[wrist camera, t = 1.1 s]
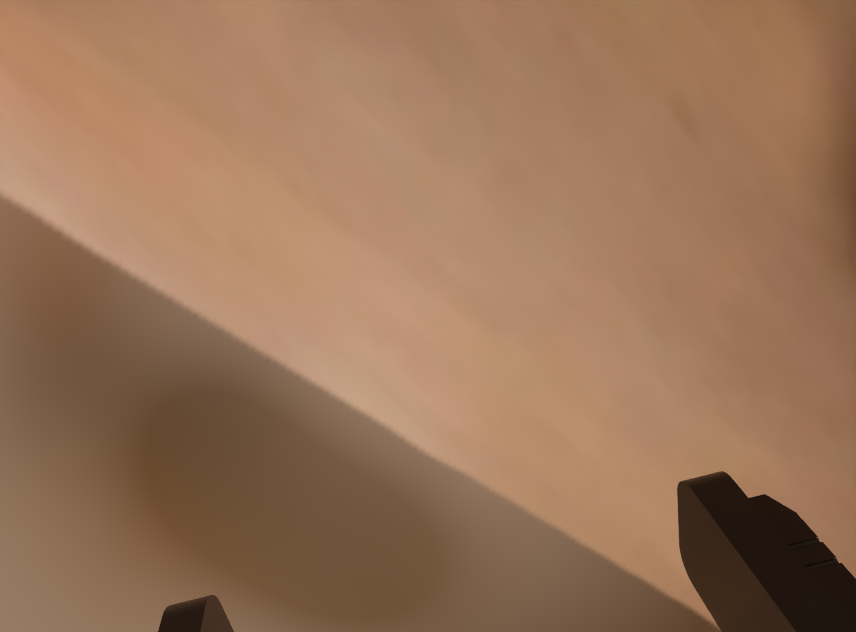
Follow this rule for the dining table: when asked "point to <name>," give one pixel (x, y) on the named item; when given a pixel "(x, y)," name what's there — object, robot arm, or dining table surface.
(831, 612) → the robot arm
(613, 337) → the dining table surface
